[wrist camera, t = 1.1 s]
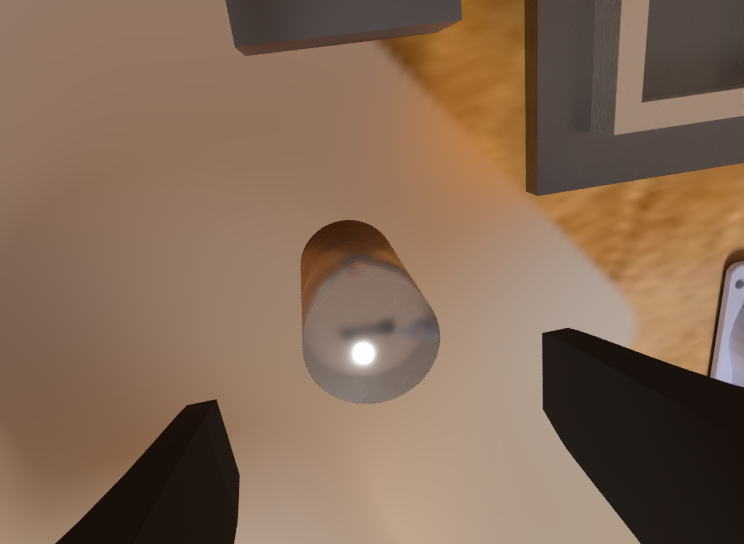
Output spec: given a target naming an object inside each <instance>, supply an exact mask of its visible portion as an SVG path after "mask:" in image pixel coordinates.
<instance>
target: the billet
mask: <svg viewBox="0 0 744 544" xmlns="http://www.w3.org/2000/svg"><path fill="white" fill-rule="evenodd" d="M301 301H302V302H301V303H302V338H303V339H302V341H303V356H304V361H305V364H306V367H307V369H308V371H309V373H310V375H311V376H312V378H313V379H314V381H315V382H316V383H317V384H318V385H319V386H320V387H321V388H322V389H323V390H324V391H326V392H327V393H329V394H330V395H332V396H334V397H336V398H338V399H341V400H344V401H347V402H352V403H358V404H374V403H381V402H385V401H388V400H391V399H394V398H397V397H399V396H401V395H403V394H405V393H406V392H408V391H409V390H411V389H412V388H414V387H415V386H416V385H417V384H418V383H419V382H420V381H421V380H422V379H423V378H424V377H425V376H426V375H427V373H428V372H429V370H430V369H431V367H432V365H433V364H434V361H435V359H436V357H437V353H438V349H439V343H440V331H439V325H438V321H437V318H436V316H435V314H434V312H433V310H432V308H431V307H430V305H429V304H428V302H427V301H426V299H425V298H424V296H423V294H422V293H421V291H420V290H419V288H418V287H417V285H416V284H415V282H414V281H413V279H412V278H411V276H410V274H409V273H408V271H407V270H406V268H405V267H404V265H403V264H402V262H401V261H400V259H399V258H398V256H397V254H396V253H395V251H394V250H393V248H392V247H391V245H390V244H389V242H388V241H387V239H386V238H385V236H384V235H383V234H382V233H381V232H379V231H378V230H377V229H376V228H374V227H373V226H371V225H369V224H366V223H363V222H360V221H354V220H345V221H339V222H334V223H332V224H329V225H327V226H325V227H323V228H322V229H320V230H319V231H317V232H316V233H315V234H314V235H313V236H312V237H311V239H310V240H309V241H308V243H307V244H306V246H305V248H304V251H303V254H302V258H301Z"/></svg>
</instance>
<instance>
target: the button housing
mask: <svg viewBox="0 0 744 544" xmlns="http://www.w3.org/2000/svg"><path fill="white" fill-rule="evenodd" d="M226 5H227V10H228V15H229V20H230V25H231V30H232V34H233V39H234V44H235V48H237V49H238V50H239V51H240V52H241V53H242V54H243V55H245V56H250V55H258V54H265V53H274V52H282V51H290V50H298V49H306V48H314V47H323V46H330V45H339V44H347V43H355V42H364V41H372V40H380V39H388V38H396V37H404V36H412V35H421V34H429V33H436V32H438V31H440V30H442V29H444V28H446V27H448V26H450V25H452V24H454V23H456V22H458V21H460V20H462V15H461V0H226Z"/></svg>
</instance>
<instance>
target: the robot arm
mask: <svg viewBox="0 0 744 544" xmlns="http://www.w3.org/2000/svg"><path fill="white" fill-rule="evenodd" d="M737 281H738V282H737ZM736 282H737V283H736ZM542 352H543V353H542V359H543V410H544V412H545V413H546V415H547V417H548V419H549V420H550V422H551V424H552V426H553V427H554V429H555V431H556V432H557V434H558V436H559V437H560V439H561V441H562V442H563V444H564V446H565V447H566V449H567V450H568V451H569V452H570V454H571V455H572V456H573V458H574V459H575V460H576V462H577V463H578V464H579V466H580V467H581V468H582V469H583V471H584V472H585V473H586V475H587V476H588V477H589V478H590V479H591V481H592V482H593V483H594V485H595V486H596V487H597V488H598V490H599V491H600V492H601V493H602V495H603V496H604V497H605V499H606V500H607V501H608V502H609V503H610V505H611V506H612V507H613V509H614V510H615V511H616V512H617V514H618V515H619V516H620V518H621V519H622V520H623V521H624V523H625V524H626V525H627V527H628V528H629V529H630V530H631V532H632V533H633V534H634V535H635V537H636V538H637V539H638V541H639V542H640V543H641V544H744V261H740V262H736V263H733V264H732V265H731V266H730V267H729V268H728V269H727V272H726V278H725V284H724V291H723V297H722V304H721V310H720V317H719V323H718V330H717V336H716V343H715V349H714V356H713V362H712V369H711V375H710V377H708V376H705V375H702V374H699V373H696V372H693V371H689V370H687V369H684V368H681V367H678V366H675V365H672V364H669V363H666V362H664V361H661V360H658V359H655V358H652V357H650V356H647V355H644V354H642V353H639V352H636V351H633V350H631V349H628V348H625V347H623V346H620V345H617V344H615V343H612V342H609V341H607V340H604V339H601V338H598V337H596V336H592V335H590V334H587V333H584V332H581V331H578V330H574V329H570V328H565V329H560V330H555V331H550V332H545V333H542ZM239 477H240V475H239V472H238V468H237V465H236V462H235V459H234V456H233V452H232V449H231V446H230V442H229V439H228V435H227V433H226V429H225V426H224V423H223V419H222V416H221V413H220V409H219V406H218V403H217V400H211V401H206V402H201V403H196V404H191V405H187V406H186V407H185V408H184V409H183V410H182V411H181V412H180V413H179V414H178V415H177V416H176V417H175V419H174V420H173V421H172V422H171V423H170V424H169V425H168V427H167V428H166V429H165V430H164V431H163V432H162V433H161V434H160V436H159V437H158V438H157V439H156V440H155V441H154V442H153V444H152V445H151V446H150V447H149V448H148V449H147V450H146V451H145V453H144V454H143V455H142V456H141V457H140V458H139V459H138V460H137V461H136V462H135V463H134V465H133V466H132V467H131V468H130V469H129V470H128V471H127V472H126V474H125V475H124V476H123V477H122V478H121V479H120V480H119V481H118V482H117V483H116V484H115V485H114V486H113V487H112V488H111V489H110V490H109V491H108V492H107V493H106V494H105V495H104V496H103V497H102V498H101V499H100V500H99V501H98V503H96V504H95V505H94V506H93V508H92V509H91V510H90V511H89V512H88V513H87V514H86V515H85V516H84V517H83V518H82V519H81V520H80V521H79V522H78V523H77V524H76V525H75V526H74V527H72V528H71V529H70V530H69V531H68V532H67V533H66V534H65V535H64V536H63V537H62V538H61V539H60V540H59V541H58V542H56V543H55V544H234V540H235V534H236V528H237V521H238V519H237V518H238V504H239V503H238V502H239Z"/></svg>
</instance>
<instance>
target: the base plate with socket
mask: <svg viewBox="0 0 744 544" xmlns="http://www.w3.org/2000/svg"><path fill="white" fill-rule="evenodd" d="M525 67H526V192H529V193H531V194H534V195H537V196H540V195H546V194H552V193H559V192H565V191H571V190H577V189H584V188H590V187H596V186H602V185H609V184H615V183H621V182H627V181H634V180H640V179H646V178H652V177H658V176H665V175H671V174H677V173H683V172H690V171H696V170H702V169H708V168H715V167H721V166H727V165H733V164H739V163H744V0H525Z"/></svg>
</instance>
